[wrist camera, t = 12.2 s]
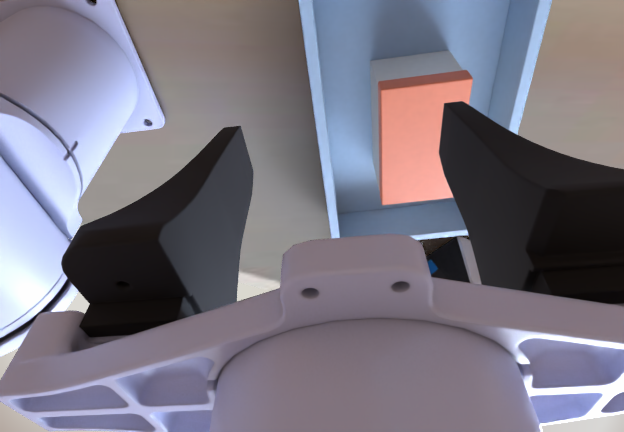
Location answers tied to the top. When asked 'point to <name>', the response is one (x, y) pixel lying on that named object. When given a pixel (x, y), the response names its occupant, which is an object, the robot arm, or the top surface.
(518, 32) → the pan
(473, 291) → the robot arm
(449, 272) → the padlock
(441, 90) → the sushi
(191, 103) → the top surface
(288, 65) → the top surface
